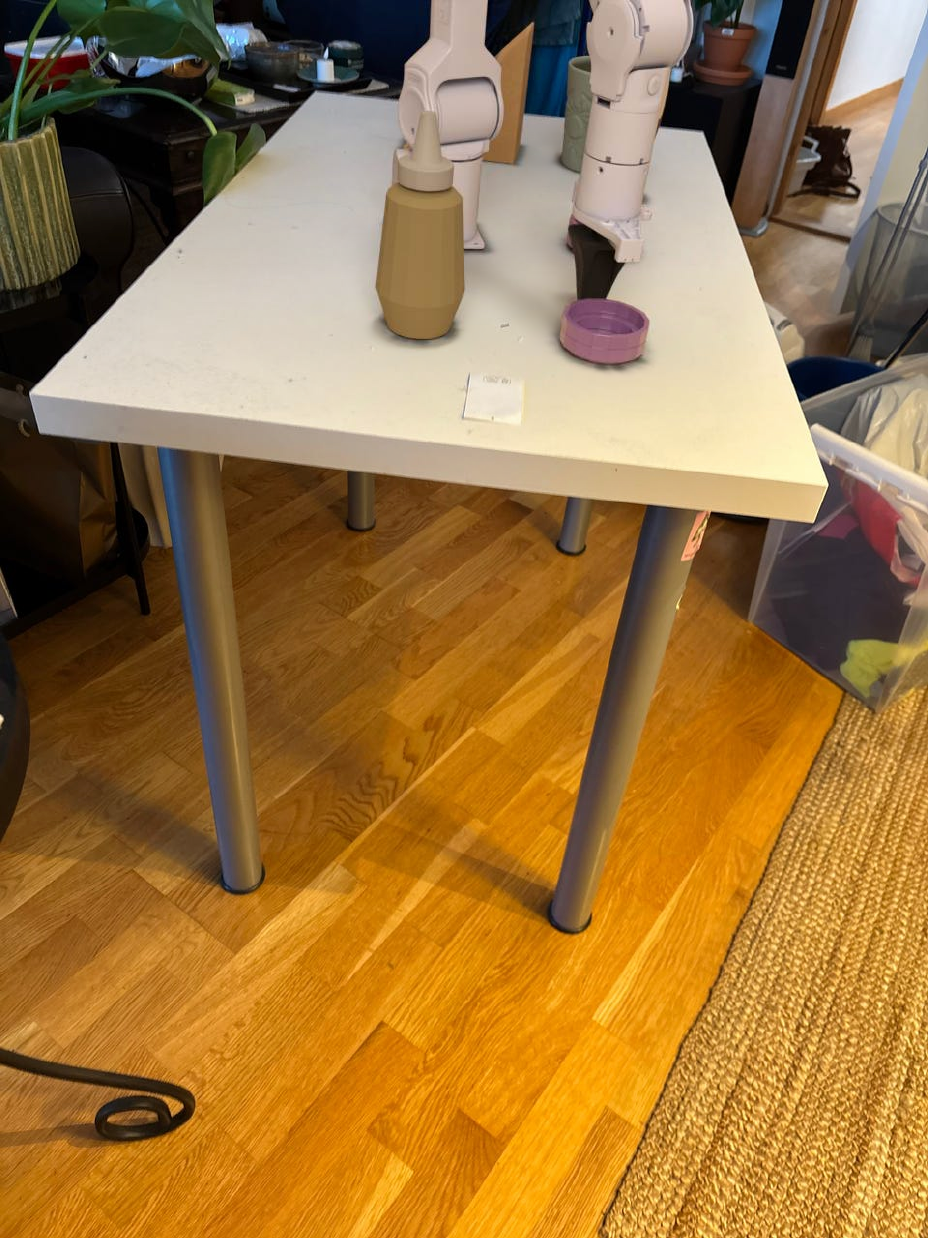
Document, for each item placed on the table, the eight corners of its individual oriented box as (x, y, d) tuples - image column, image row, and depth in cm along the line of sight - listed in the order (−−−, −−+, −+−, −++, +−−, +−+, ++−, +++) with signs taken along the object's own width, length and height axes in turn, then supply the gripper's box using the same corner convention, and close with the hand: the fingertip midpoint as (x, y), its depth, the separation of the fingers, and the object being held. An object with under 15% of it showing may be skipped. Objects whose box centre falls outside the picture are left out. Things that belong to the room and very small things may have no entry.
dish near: (571, 368, 81) (577, 336, 79) (549, 328, 87) (554, 297, 85) (653, 367, 83) (661, 336, 80) (627, 327, 88) (633, 297, 86)
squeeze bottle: (414, 299, 89) (423, 93, 76) (479, 328, 85) (499, 116, 73) (356, 324, 84) (356, 108, 72) (422, 355, 80) (433, 134, 68)
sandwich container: (413, 131, 129) (418, 6, 119) (520, 145, 128) (534, 20, 118) (401, 149, 123) (405, 18, 112) (513, 164, 122) (528, 34, 112)
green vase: (627, 158, 128) (646, 60, 120) (629, 181, 120) (649, 79, 112) (556, 149, 128) (569, 51, 120) (553, 172, 121) (568, 69, 113)
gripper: (691, 185, 73) (653, 342, 82) (634, 130, 83) (607, 275, 93) (608, 183, 72) (579, 343, 81) (561, 127, 82) (540, 275, 91)
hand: (589, 307), depth 87 cm, fingers closed
